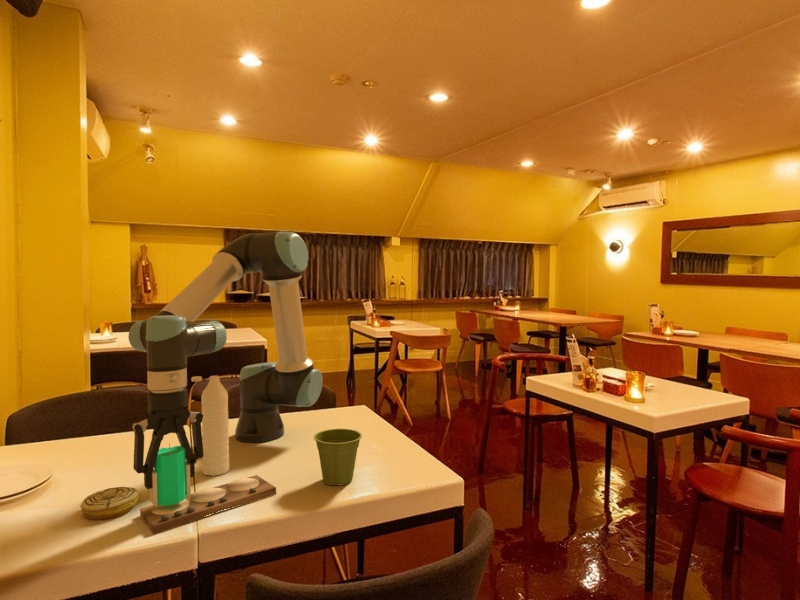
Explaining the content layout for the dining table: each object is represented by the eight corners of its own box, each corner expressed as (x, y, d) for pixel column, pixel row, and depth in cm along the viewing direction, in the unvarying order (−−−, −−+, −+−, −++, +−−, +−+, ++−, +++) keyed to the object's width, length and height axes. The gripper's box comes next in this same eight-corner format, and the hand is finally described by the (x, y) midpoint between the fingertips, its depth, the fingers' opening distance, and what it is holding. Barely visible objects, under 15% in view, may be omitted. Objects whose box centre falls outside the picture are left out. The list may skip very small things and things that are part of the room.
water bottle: (229, 465, 128) (227, 372, 127) (229, 474, 122) (227, 377, 121) (194, 469, 125) (192, 375, 125) (192, 479, 119) (190, 379, 118)
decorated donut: (113, 497, 110) (113, 481, 110) (149, 503, 107) (149, 486, 106) (69, 518, 100) (68, 500, 100) (107, 525, 97) (107, 507, 97)
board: (140, 515, 100) (139, 505, 100) (256, 480, 118) (256, 472, 118) (153, 533, 93) (153, 523, 93) (276, 493, 110) (275, 485, 110)
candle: (191, 493, 104) (190, 439, 103) (176, 506, 98) (174, 448, 97) (165, 492, 104) (164, 438, 104) (148, 505, 98) (147, 447, 98)
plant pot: (349, 493, 110) (348, 445, 110) (304, 486, 114) (304, 440, 114) (370, 474, 121) (369, 430, 121) (328, 468, 125) (328, 426, 125)
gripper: (121, 399, 91) (124, 518, 92) (219, 385, 104) (221, 490, 105) (112, 393, 97) (115, 505, 98) (206, 380, 109) (209, 479, 110)
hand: (170, 497), depth 101 cm, fingers closed on candle, 6 cm apart
